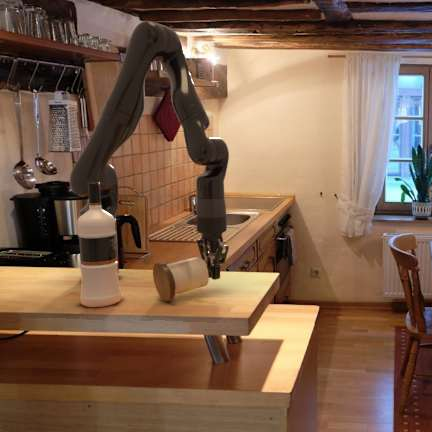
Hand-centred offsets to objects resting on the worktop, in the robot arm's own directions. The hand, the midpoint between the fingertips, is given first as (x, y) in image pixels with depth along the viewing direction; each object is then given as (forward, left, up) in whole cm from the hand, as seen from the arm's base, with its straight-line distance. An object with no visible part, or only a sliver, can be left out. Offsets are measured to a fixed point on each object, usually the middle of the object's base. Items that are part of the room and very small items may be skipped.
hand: (213, 277), depth 150 cm
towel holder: (0, -5, -3) cm, 6 cm away
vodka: (-9, -26, -4) cm, 27 cm away
